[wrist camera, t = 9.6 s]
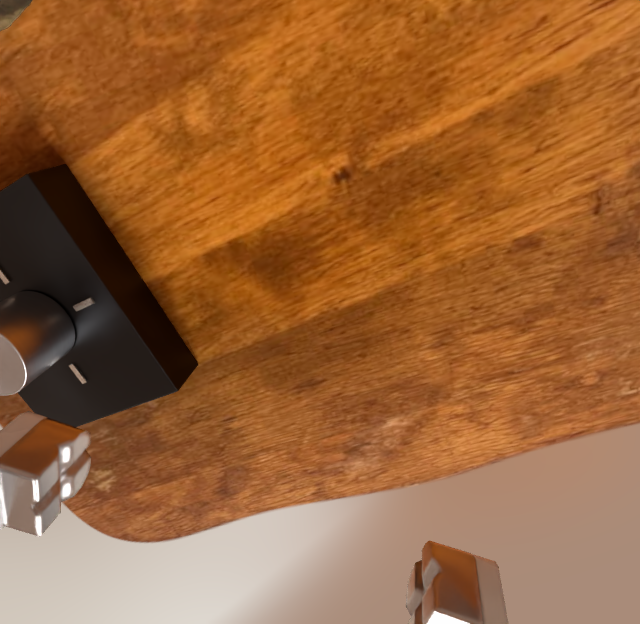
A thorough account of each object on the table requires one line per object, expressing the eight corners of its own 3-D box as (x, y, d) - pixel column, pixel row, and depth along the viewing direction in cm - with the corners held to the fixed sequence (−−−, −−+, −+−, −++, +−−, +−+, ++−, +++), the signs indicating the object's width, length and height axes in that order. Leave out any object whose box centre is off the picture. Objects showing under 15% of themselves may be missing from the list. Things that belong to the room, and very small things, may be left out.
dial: (39, 278, 26) (-24, 312, 23) (90, 341, 28) (38, 383, 24) (-8, 308, 28) (-75, 344, 24) (42, 366, 29) (-13, 409, 25)
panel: (198, 364, 31) (177, 393, 28) (80, 408, 35) (51, 437, 32) (66, 163, 26) (24, 174, 24) (-54, 239, 30) (-101, 256, 27)
